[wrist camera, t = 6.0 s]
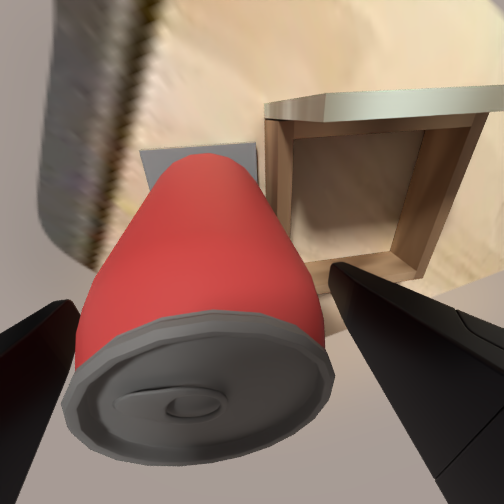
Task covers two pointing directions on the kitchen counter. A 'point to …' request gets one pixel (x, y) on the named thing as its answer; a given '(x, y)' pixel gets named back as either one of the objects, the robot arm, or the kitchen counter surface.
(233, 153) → the plate
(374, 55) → the kitchen counter surface
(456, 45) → the kitchen counter surface
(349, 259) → the drawer
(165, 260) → the beer can
